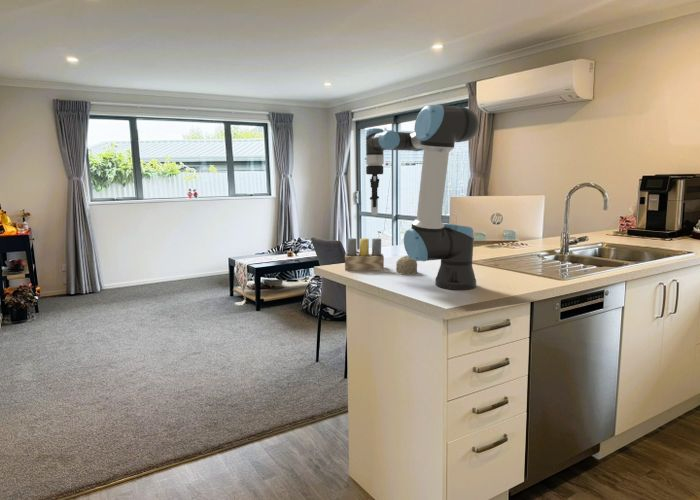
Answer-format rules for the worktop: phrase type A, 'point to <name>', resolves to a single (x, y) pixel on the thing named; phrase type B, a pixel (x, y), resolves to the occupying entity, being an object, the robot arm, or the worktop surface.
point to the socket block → (364, 262)
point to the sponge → (406, 266)
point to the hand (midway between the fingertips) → (374, 214)
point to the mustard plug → (364, 247)
